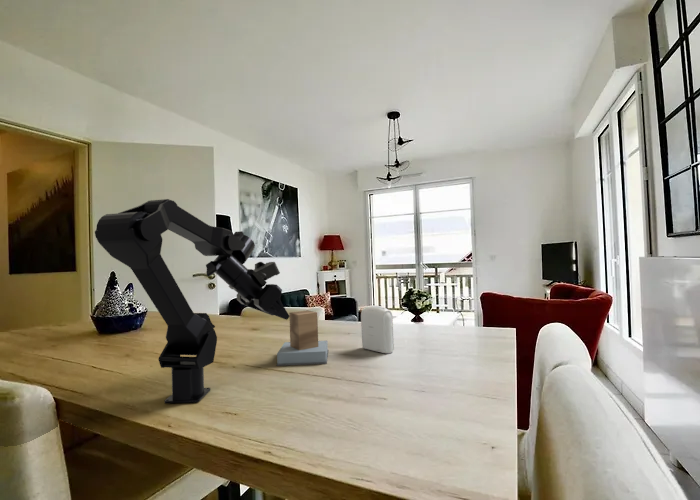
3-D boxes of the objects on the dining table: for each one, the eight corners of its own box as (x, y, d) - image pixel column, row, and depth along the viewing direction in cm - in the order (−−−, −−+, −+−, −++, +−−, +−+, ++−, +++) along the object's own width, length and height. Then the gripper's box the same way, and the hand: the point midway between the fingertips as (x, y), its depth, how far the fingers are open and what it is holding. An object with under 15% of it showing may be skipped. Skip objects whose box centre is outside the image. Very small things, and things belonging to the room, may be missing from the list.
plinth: (326, 363, 91) (326, 351, 91) (276, 365, 90) (276, 353, 90) (328, 350, 103) (328, 340, 103) (284, 352, 103) (284, 342, 103)
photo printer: (359, 348, 105) (358, 305, 105) (370, 345, 107) (369, 303, 108) (385, 355, 97) (383, 308, 97) (396, 352, 99) (394, 306, 100)
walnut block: (318, 346, 96) (317, 312, 96) (299, 350, 93) (298, 314, 93) (308, 343, 100) (307, 310, 101) (290, 346, 97) (289, 312, 98)
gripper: (272, 249, 83) (317, 294, 89) (247, 252, 99) (286, 290, 104) (238, 286, 78) (287, 331, 84) (217, 283, 94) (260, 321, 100)
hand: (280, 316), depth 93 cm, fingers open, 9 cm apart
